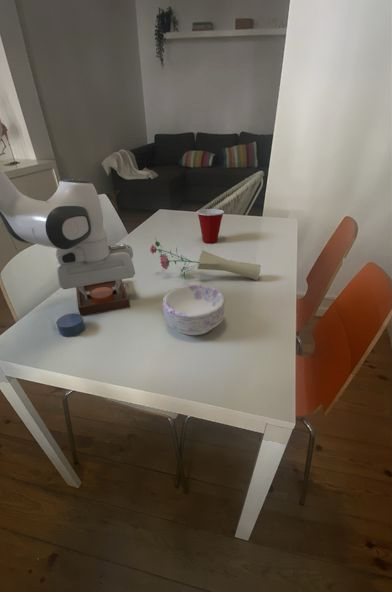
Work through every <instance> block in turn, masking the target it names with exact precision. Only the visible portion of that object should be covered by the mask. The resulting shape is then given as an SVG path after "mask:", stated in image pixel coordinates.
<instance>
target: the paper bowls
mask: <svg viewBox="0 0 392 592" xmlns="http://www.w3.org/2000/svg"><path fill="white" fill-rule="evenodd" d="M225 301H226V300H225V297H224V295H223V293H222V292H221V291H220V290H218V289H217V288H215V287H212V286H208V285H205V284H204V285H203V284H189V285H183V286H178V287H176V288H173V289H172V290H170V291H168V292H167V293H166V294H165V295H164V296H163V299H162V310H163V316H164V321H165V323H166V324H167V326H169V327H171V328H172V329H175V330H176V331H177V332H178V333H181V334H183V335H187V336H200V335H204V334H206V333H208V332H210V331H212V329H213V328H216V327H217V326H219V325H220V324H221V323H222V322H223V320H224V318H225Z"/></svg>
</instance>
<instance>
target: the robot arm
mask: <svg viewBox="0 0 392 592" xmlns="http://www.w3.org/2000/svg"><path fill="white" fill-rule="evenodd" d="M2 139H3V125H2V120H1V119H0V144H1V143H2ZM102 209H103V208H102V205H101V201H100V197H99V195H98V191H97V189H96V187H95V185H94V183H92V182H91V181H89V180H87V179H75V178H64V179H61V180H59V182H58V186H57V188H56V191H55V192H54V193H53V195H52V196H51V197H50V198H48V199H47V200H46V201H45V200H39V199H34V198H32V197H29V196H27V195H25V194H23V193H22V192H21V191H19V190H18V189H17V187H16V186H15V185H14V183H13V182H12V181H11V179H10V178H9V176H8V175H7V174H6V173H5V172H4V171H3V169H2V167H0V218H1V220H2V222H3V225H4V227H5V228H6V230H7V231H8V233H9V235H10V236H12V237H13V239H15V240H17V241H19V242H21V243H23V244H30V245H31V244H32V245H39V246H43V247H46V248H47V247H48V248H53V249H56V251H55V257H56V260H57V262H56V274H57V282H58V286H59V287H60V288H61V289H62V290H69V289H74V288H75V289H76V287H78V288H79V291H80V292H81V293H83V294H84V295H85V298H86V300H89V299H91V296H90V292H89V291H88V292H86V291H85V290H84V286H87V285H93V284H98V283H104V282H110V281H115V282H116V284H115V287H112V290H113V293H114V295H116V294H119V291H118V289H119V286H120V284H121V281H120V280H121V279H122V280H127V279H132V278H134V277H135V275H136V269H135V266H134V262H133V258H134V252H133V247H131V246H130V245H128V244H126V243H120V244H113V245H112V244H111V245H109V241H108V236H107V235H108V234H107V232H106V230H105V226H104V215H103V210H102Z"/></svg>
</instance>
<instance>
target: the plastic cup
mask: <svg viewBox="0 0 392 592" xmlns="http://www.w3.org/2000/svg"><path fill="white" fill-rule="evenodd" d="M196 214H197V216H198V220H199V226H200V233H201V237H202V241H203V243H204V244H209V245H210V244H212V245H213V244H216V243H217V242H218V239H219V234H220V229H221V224H222V219H223V217H224V214H225V211H224V210H222V209H216V208H208V209H207V208H205V209H199V210H197V211H196Z"/></svg>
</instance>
